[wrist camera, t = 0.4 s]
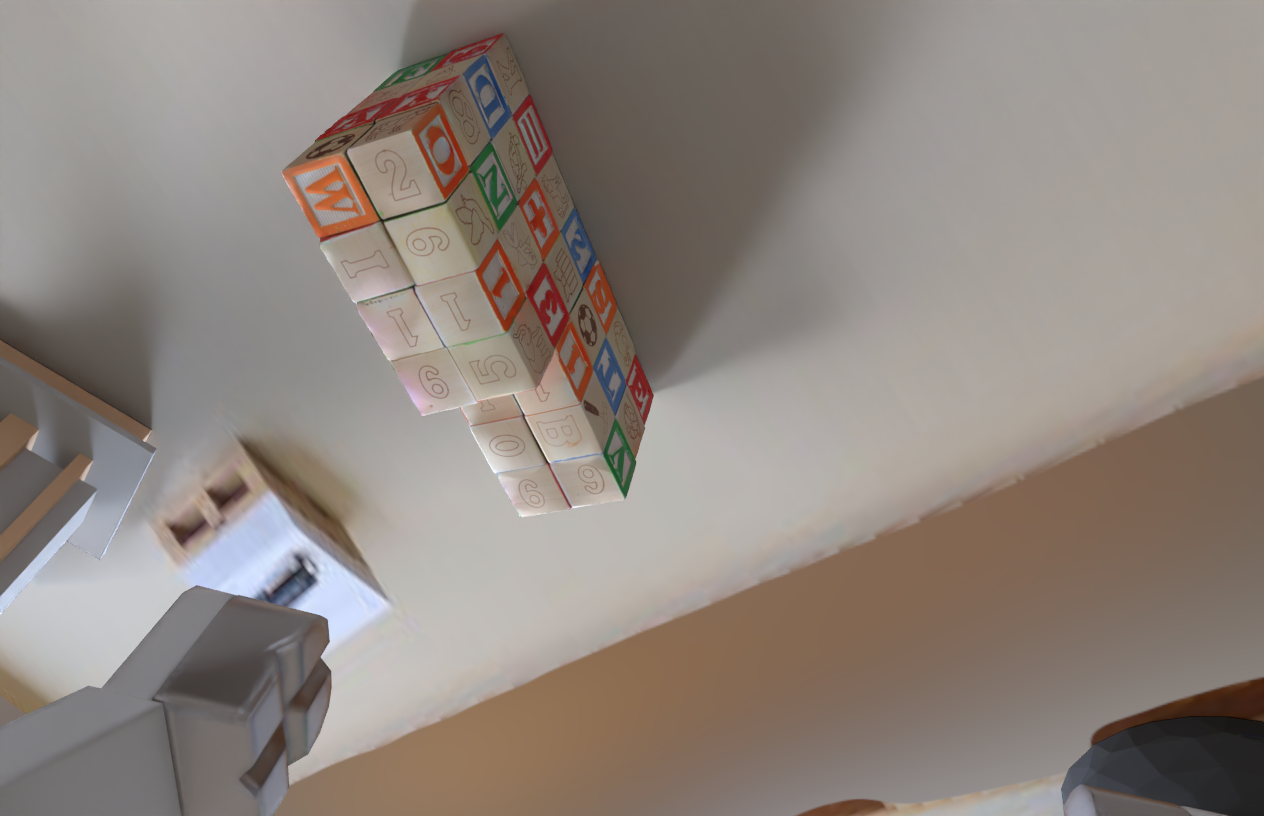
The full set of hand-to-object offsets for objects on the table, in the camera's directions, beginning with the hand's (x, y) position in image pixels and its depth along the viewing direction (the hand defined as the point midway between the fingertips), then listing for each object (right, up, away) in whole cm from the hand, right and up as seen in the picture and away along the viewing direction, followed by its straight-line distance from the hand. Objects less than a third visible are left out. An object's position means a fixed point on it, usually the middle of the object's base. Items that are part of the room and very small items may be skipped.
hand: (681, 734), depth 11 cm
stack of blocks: (-6, +12, +44) cm, 46 cm away
